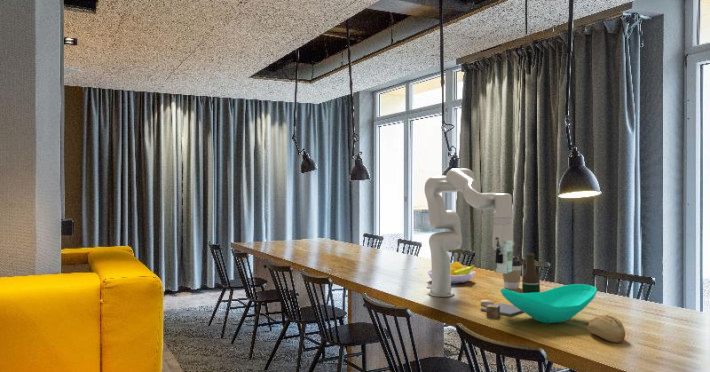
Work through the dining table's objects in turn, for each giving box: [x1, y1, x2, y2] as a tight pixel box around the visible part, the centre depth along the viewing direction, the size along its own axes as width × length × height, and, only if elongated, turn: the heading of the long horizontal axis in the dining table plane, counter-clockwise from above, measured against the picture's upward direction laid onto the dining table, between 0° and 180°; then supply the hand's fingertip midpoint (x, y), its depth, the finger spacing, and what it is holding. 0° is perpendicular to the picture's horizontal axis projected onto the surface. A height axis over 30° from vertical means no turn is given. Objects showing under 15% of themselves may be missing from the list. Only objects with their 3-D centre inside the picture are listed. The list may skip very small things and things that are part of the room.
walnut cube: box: [485, 304, 501, 319], centre depth 235 cm, size 4×4×4 cm
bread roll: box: [587, 314, 626, 344], centre depth 200 cm, size 10×15×8 cm, turn 17°
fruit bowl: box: [427, 261, 476, 285], centre depth 316 cm, size 28×27×11 cm
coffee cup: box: [502, 258, 523, 290], centre depth 296 cm, size 11×11×15 cm
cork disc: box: [480, 299, 495, 307], centre depth 257 cm, size 6×6×2 cm
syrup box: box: [494, 239, 514, 274], centre depth 245 cm, size 6×6×14 cm
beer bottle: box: [521, 252, 541, 293], centre depth 252 cm, size 8×8×24 cm
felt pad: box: [480, 302, 524, 317], centre depth 245 cm, size 15×15×1 cm
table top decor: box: [500, 283, 598, 324], centre depth 225 cm, size 40×28×13 cm
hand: (503, 261), depth 245 cm, fingers closed on syrup box, 6 cm apart
